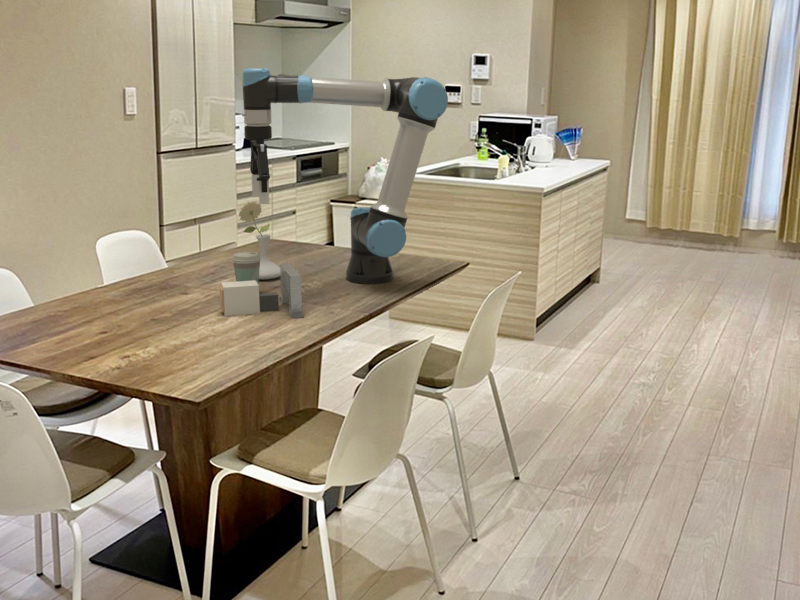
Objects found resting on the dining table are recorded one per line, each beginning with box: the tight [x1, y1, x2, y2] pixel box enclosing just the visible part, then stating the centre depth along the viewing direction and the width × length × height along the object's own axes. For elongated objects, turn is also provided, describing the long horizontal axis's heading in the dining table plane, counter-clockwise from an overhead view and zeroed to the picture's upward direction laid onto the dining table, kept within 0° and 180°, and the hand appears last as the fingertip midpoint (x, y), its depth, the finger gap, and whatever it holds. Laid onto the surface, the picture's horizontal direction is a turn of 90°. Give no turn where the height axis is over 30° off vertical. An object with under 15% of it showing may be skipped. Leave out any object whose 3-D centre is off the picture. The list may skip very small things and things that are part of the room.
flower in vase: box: [238, 200, 280, 280], centre depth 281 cm, size 13×11×25 cm
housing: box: [279, 262, 305, 319], centre depth 249 cm, size 3×21×11 cm, turn 17°
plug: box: [219, 280, 280, 317], centre depth 246 cm, size 16×6×8 cm, turn 107°
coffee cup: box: [231, 251, 261, 284], centre depth 264 cm, size 8×9×12 cm
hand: (260, 200), depth 254 cm, fingers open, 13 cm apart
